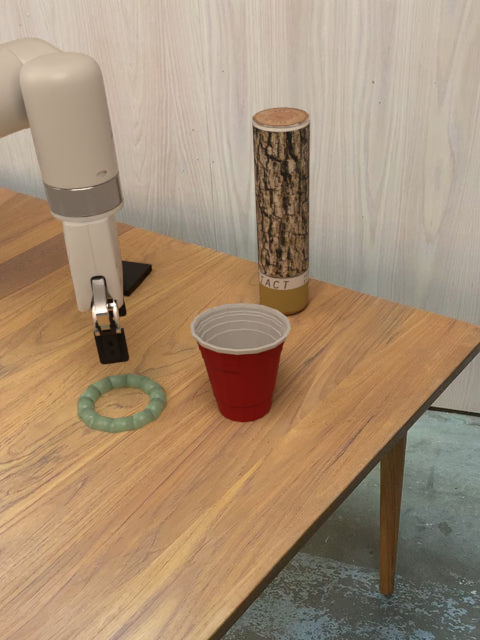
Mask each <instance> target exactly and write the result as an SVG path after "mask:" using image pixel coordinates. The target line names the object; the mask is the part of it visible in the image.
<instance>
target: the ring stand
mask: <svg viewBox="0 0 480 640" xmlns="http://www.w3.org/2000/svg"><path fill="white" fill-rule="evenodd" d="M122 271H123V295H124V297H131V295H132V294H133V293H134V292H135V291H136V289H137V288H138V287H139V286H140V285H141V284H142V283H143V281H145V280H146V278H147V277H148V276H149V275H150V274H151V272H153V264H151V263H146V262H145V263H144V262H137V261H129V260H124V259H122Z"/></svg>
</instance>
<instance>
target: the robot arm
mask: <svg viewBox="0 0 480 640" xmlns="http://www.w3.org/2000/svg"><path fill="white" fill-rule="evenodd" d="M109 110H110V109H109V105H108V99H107V93H106V87H105V82H104V77H103V72H102V70H101V67H100V65H99V63H98V62H97V61H96V59H94V57H92V56H90V55H89V54H85V53H83V52H82V53H81V52H77V51H64V50H62V49H60V48H59V47H57V46H55V45H53V44H52V43H50V42H49V41H46V40H44V39H41V38H39V37H22V38H18V39H13V40H10V41H7V42H4V43H0V139H3V138H4V137H8V136H10V135H12V134H16V133H17V132H21V131H23V130H27V129H30V133H31V138H32V141H33V142H32V143H33V146H34V150H35V155H36V158H37V159H36V160H37V163H38V167H39V170H40V176H41V180H42V183H43V188H44V192H45V196H46V200H47V205H48V208H49V213H50V215H51V216H52V217H53V218H54V219H56V220H59V221H61V224H62V225H61V226H62V231H63V238H64V245H65V250H66V256H67V260H68V265H69V270H70V276H71V279H72V285H73V289H74V290H73V291H74V295H75V301H76V307H77V310H78V312H80V313H82V314H85V312H90V310H91V316H92V323H93V324H92V325H93V338H94V342H95V346H96V350H97V355H98V359H99V363H100V364H101V365H111V364H119V363H127V362H129V361H130V353H129V347H128V344H127V338H126V333H125V328H124V327H122V325H121V318H122V317H123V318H124V317H126V316H127V314H128V313H127V307H126V301H125V296H124V295H123V271H122V260H123V259H122V252H121V251H122V250H121V245H120V238H119V237H120V236H119V232H118V226H117V219H116V214H117V213H119V212H120V211H121V210H122V209H123V208H124V206H125V199H124V191H123V186H122V181H121V173H120V168H119V163H118V156H117V151H116V145H115V139H114V133H113V128H112V122H111V116H110V111H109Z"/></svg>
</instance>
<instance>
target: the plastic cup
mask: <svg viewBox="0 0 480 640" xmlns="http://www.w3.org/2000/svg"><path fill="white" fill-rule="evenodd" d="M189 326H190V332H191V336H192V339H193V340H195V342H196V344H197V346H198V349H199V351H200V354H201V358H202V359H203V363H204V366H205V370H206V372H207V377H208V380H209V383H210V387H211V389H212V390H211V391H212V394H213V396H214V398H215V401H216V405H217V407H218V411H219V413H220V414H221V415H222V417H224V419H227V420H229V421H232V422H236V423H250V422H255V421H257V420H260V419H263V418H264V417H265V416H266V415H268V414H269V413H270V410H271V408H272V404H273V403H272V402H273V397H274V391H275V389H276V384H277V377H278V372H279V368H280V362H281V361H280V360H281V355H282V352H283V349H284V345H285V342H286V341H287V338H288V337H289V334H290V332H291V329H292V325H291V321H290V320H289V317H287V315H283V314H282V313H281V312H279V311H278V310H276V309H273V308H270V307H267V306H264V305H261V304H256V303H249V302H248V303H247V302H238V303H237V302H236V303H225V304H221V305H217V306H214V307H210V308H207V309H205V310H204V311H202V312H201V313H198V314H197V315H195V317H194V318H193V320H192V321H191V323H190V325H189Z"/></svg>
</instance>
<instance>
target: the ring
mask: <svg viewBox="0 0 480 640" xmlns="http://www.w3.org/2000/svg"><path fill="white" fill-rule="evenodd" d="M124 388H129V389H136V390H140V391H142V392H143V393H144V394H146V395H147V396H148V401H149V402H148V403H147V405H146V406H145V408H144V409H142V410H140V411H137V412H136V413H134V414H132V415H128V416H121V417H111V416H110V417H109V416H105V415H101V414H99V413H98V412H97V411H96V407H95V403H96V402H98V400H99V399H100V397H101V396H102V395H104V394H107V393H108V392H111V391H112V390H117V389H124ZM165 389H166V388H164V386H162V385H161V384H160V383H159V382H157V381H156V380H155V379H153V378H152V377H150V376H146V375H141V374H135V373H130V372H129V373H121V374H114V375H108V376H105V377H103V378H101V379H99V380H97V381H94V382H93V383H91V384H89V385H88V386H87V387H86V388H85V389H84V391H83V392H82V393H81V394H80V396H79V397H78V398H77V400H76V415H77V418H78V419H79V420H80V421H81V422H82V423H83V424H84V425H85V426H86V427H87V428H89V429H90V430H94V431H98V432H104V433H109V434H119V433H125V432H132V431H133V432H134V431H137V430H140V429H142V428H144V427H145V426H147V425H149V424H151V423H153V422H155V421H157V420H158V419H159V418H160V416H161V415H162V414H163V412H164V411H165V409H166V408H167V406H168V399H167V396H166V395H167V394H166V390H165Z"/></svg>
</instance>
